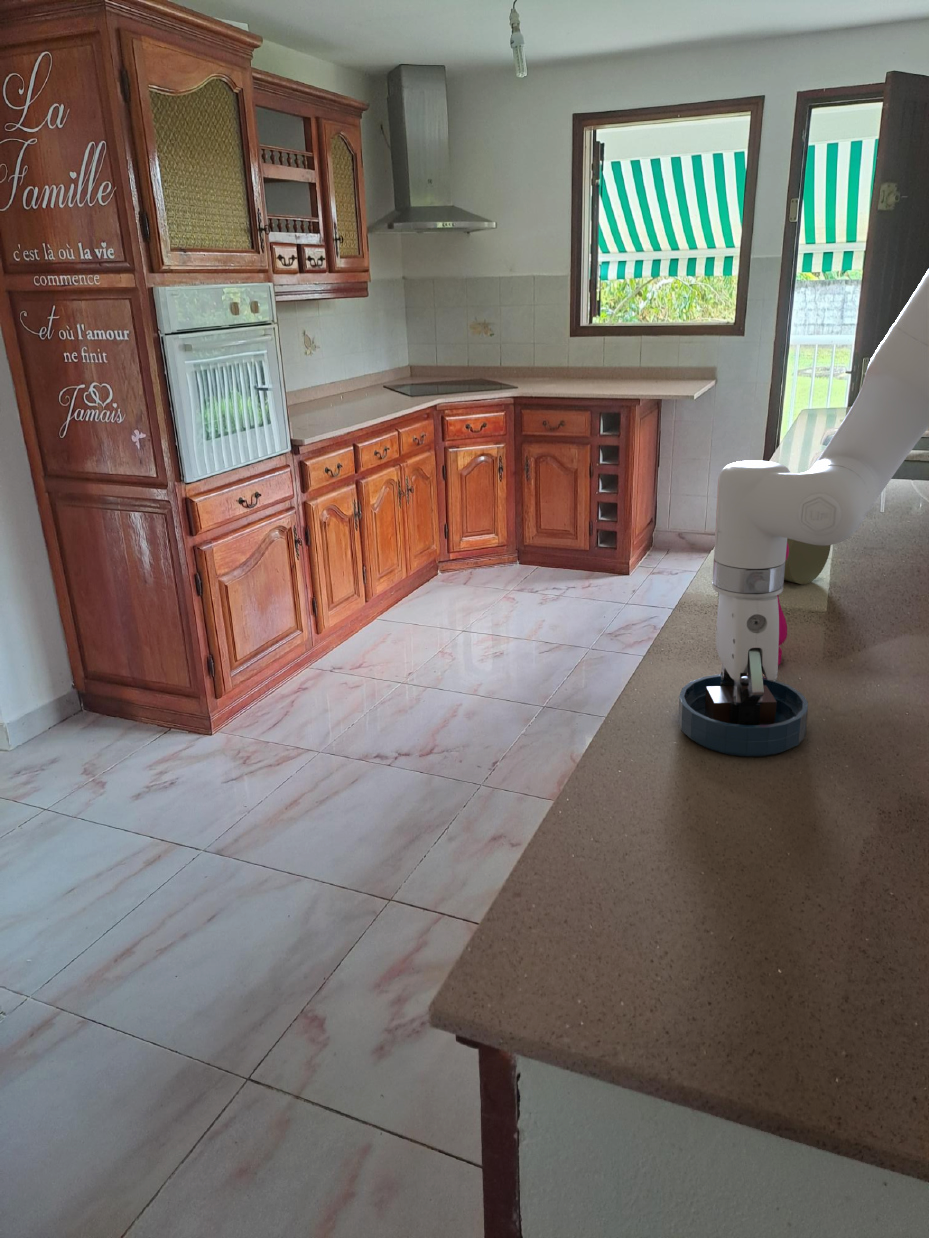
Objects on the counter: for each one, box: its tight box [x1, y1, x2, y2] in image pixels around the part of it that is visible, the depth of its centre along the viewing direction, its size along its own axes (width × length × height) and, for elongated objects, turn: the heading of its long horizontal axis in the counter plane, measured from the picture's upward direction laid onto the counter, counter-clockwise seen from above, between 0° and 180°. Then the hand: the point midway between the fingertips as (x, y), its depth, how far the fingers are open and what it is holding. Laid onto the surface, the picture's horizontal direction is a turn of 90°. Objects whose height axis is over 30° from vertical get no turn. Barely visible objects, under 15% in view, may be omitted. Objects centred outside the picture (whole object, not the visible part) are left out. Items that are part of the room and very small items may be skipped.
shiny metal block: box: [705, 685, 777, 725], centre depth 103 cm, size 7×4×4 cm, turn 87°
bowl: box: [677, 673, 809, 757], centre depth 103 cm, size 14×14×4 cm
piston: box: [784, 538, 832, 585], centre depth 154 cm, size 11×12×11 cm
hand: (738, 721), depth 103 cm, fingers closed on shiny metal block, 4 cm apart
